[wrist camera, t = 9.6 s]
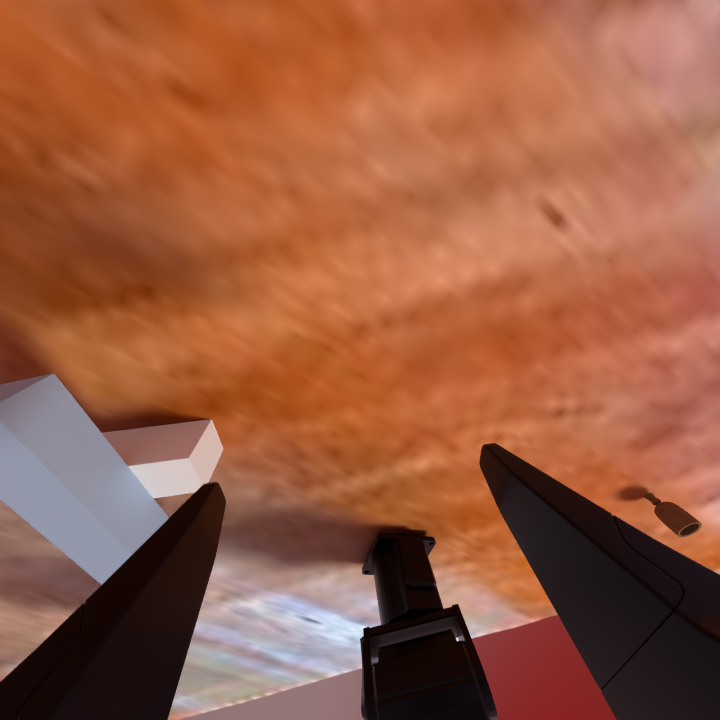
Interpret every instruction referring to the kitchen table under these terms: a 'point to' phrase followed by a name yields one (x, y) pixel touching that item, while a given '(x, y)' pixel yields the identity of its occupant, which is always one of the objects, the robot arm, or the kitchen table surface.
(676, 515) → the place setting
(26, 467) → the bar
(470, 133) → the kitchen table surface
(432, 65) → the kitchen table surface
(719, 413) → the kitchen table surface
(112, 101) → the kitchen table surface
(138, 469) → the fulcrum
